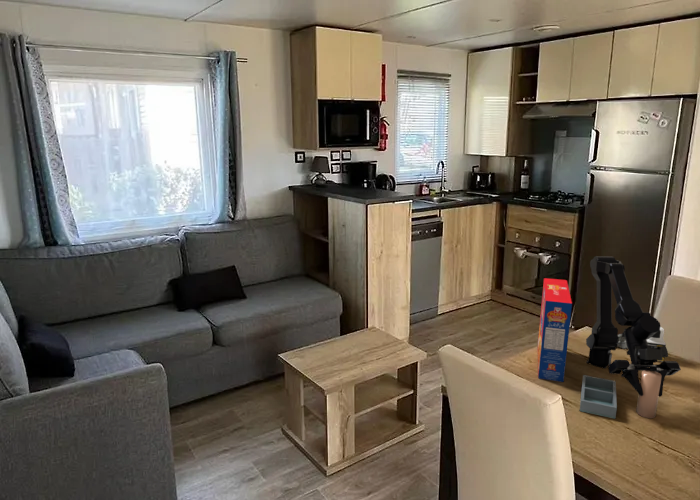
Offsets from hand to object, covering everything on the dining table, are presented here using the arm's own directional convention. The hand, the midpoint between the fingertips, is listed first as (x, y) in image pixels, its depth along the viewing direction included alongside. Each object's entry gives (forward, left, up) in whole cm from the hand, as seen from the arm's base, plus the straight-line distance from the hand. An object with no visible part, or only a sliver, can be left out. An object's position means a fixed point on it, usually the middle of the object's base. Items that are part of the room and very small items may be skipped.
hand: (651, 396), depth 149 cm
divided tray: (-14, -1, -7) cm, 15 cm away
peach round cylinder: (-1, +1, -7) cm, 7 cm away
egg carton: (-25, +49, -7) cm, 55 cm away
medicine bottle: (-11, +47, -7) cm, 48 cm away
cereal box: (-36, +15, -7) cm, 39 cm away
